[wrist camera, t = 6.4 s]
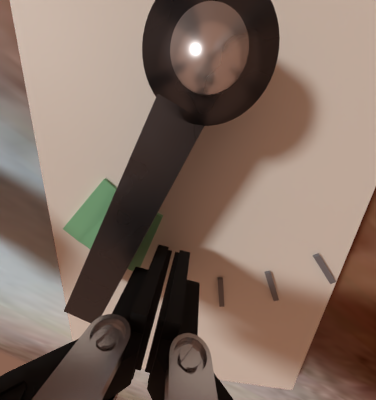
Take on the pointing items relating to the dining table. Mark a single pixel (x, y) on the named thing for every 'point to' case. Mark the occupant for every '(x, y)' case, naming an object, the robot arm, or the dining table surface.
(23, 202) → the dining table surface
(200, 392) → the robot arm
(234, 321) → the gauge board
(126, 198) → the needle
